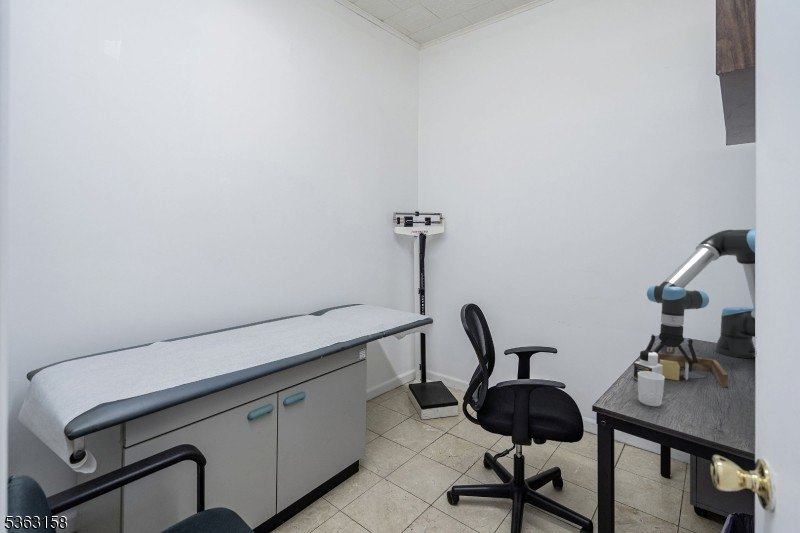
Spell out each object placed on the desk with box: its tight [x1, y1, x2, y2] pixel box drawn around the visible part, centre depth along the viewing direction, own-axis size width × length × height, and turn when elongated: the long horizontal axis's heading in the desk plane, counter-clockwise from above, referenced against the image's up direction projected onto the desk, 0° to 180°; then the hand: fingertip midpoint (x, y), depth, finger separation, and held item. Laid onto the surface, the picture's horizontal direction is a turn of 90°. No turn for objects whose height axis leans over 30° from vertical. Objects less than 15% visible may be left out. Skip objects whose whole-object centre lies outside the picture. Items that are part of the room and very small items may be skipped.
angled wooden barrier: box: [657, 351, 729, 388], centre depth 155 cm, size 22×20×5 cm
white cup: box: [637, 371, 666, 407], centre depth 129 cm, size 8×8×10 cm
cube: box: [660, 359, 681, 381], centre depth 152 cm, size 6×6×6 cm
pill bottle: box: [659, 346, 676, 355], centre depth 174 cm, size 6×6×10 cm
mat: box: [679, 370, 706, 380], centre depth 154 cm, size 10×10×1 cm
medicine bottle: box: [633, 349, 663, 381], centre depth 148 cm, size 7×7×12 cm
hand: (669, 376), depth 152 cm, fingers open, 11 cm apart
